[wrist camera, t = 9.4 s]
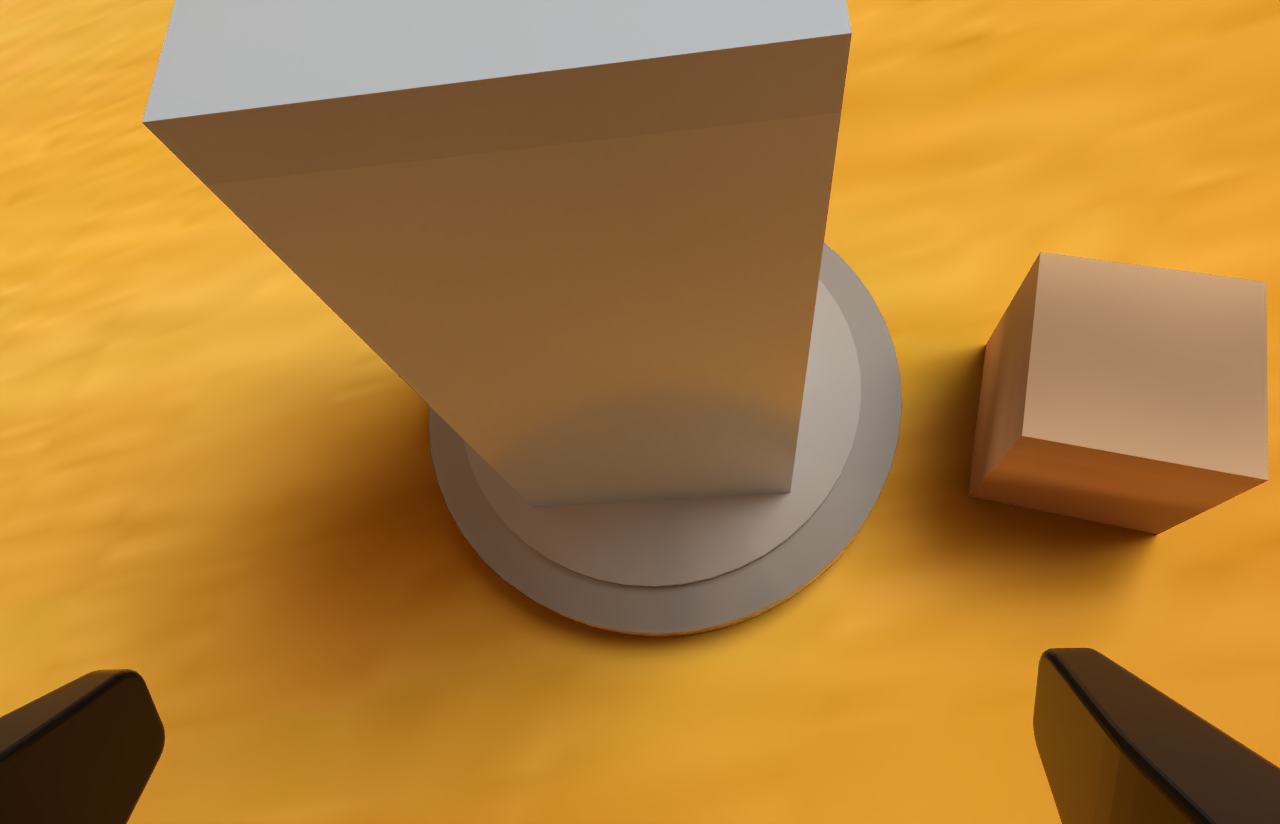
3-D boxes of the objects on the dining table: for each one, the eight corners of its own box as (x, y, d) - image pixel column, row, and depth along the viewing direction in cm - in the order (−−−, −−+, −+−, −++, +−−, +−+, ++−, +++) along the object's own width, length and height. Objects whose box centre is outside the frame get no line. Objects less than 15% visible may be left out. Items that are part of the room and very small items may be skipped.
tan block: (1155, 535, 17) (1268, 480, 13) (967, 497, 17) (1021, 436, 14) (1161, 373, 18) (1266, 281, 14) (985, 345, 19) (1040, 251, 15)
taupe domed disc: (483, 696, 17) (464, 693, 16) (414, 282, 22) (396, 258, 20) (974, 556, 17) (988, 544, 16) (803, 164, 21) (806, 133, 20)
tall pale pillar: (790, 492, 17) (850, 33, 6) (532, 507, 17) (142, 123, 6) (768, 266, 19) (783, -390, 8) (539, 286, 20) (255, -290, 8)
